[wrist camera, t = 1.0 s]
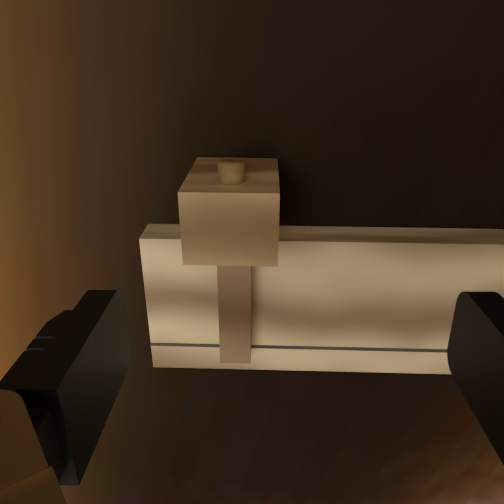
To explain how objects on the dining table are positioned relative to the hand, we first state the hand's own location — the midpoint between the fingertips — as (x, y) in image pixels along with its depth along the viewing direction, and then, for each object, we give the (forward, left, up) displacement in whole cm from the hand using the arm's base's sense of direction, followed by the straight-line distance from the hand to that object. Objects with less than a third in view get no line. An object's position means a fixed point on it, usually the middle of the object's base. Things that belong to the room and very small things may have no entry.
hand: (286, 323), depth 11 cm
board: (+10, +6, -19) cm, 22 cm away
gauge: (+6, -2, -19) cm, 20 cm away
